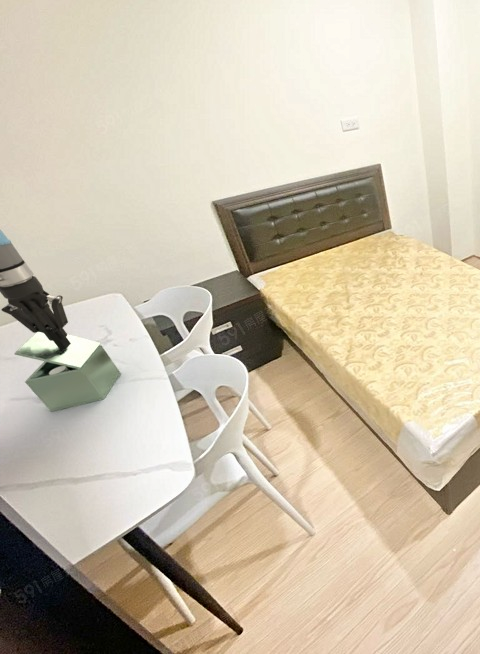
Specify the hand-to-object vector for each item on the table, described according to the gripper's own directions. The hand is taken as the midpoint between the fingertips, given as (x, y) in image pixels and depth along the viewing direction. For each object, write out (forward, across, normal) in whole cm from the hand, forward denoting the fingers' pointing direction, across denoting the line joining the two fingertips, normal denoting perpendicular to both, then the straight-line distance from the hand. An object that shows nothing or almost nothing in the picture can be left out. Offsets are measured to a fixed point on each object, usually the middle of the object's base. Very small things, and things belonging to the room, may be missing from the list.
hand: (65, 346), depth 122 cm
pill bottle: (+18, -6, 0) cm, 19 cm away
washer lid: (+1, -2, 0) cm, 2 cm away
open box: (+18, -3, 0) cm, 19 cm away
